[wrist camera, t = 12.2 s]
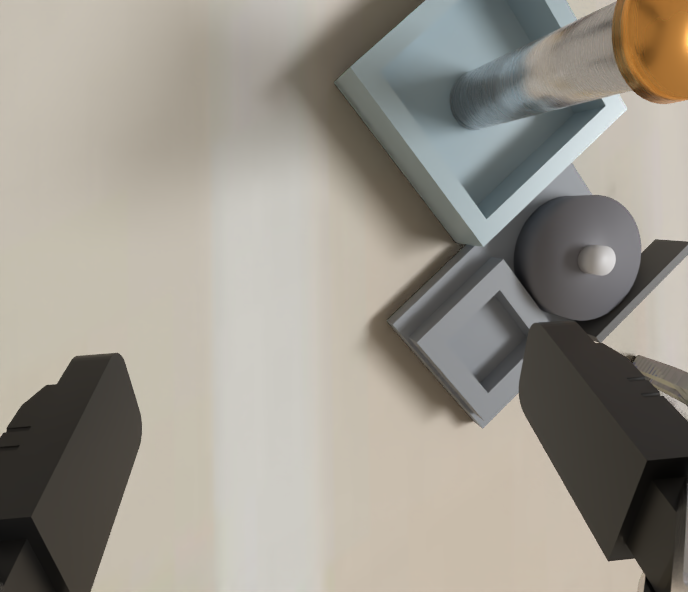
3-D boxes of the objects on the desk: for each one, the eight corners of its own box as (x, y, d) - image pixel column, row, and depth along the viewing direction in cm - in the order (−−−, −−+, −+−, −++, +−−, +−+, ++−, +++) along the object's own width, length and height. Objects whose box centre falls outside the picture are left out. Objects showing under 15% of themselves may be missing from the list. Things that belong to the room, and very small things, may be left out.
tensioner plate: (386, 320, 29) (414, 337, 25) (580, 136, 30) (634, 125, 26) (474, 421, 32) (511, 451, 28) (648, 248, 33) (706, 253, 29)
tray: (333, 82, 26) (350, 67, 23) (485, -53, 27) (519, -83, 24) (455, 243, 29) (483, 247, 26) (587, 118, 30) (627, 108, 27)
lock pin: (422, 93, 27) (613, 0, 14) (481, 39, 27) (718, -96, 15) (468, 160, 28) (679, 128, 16) (524, 108, 28) (774, 37, 16)
